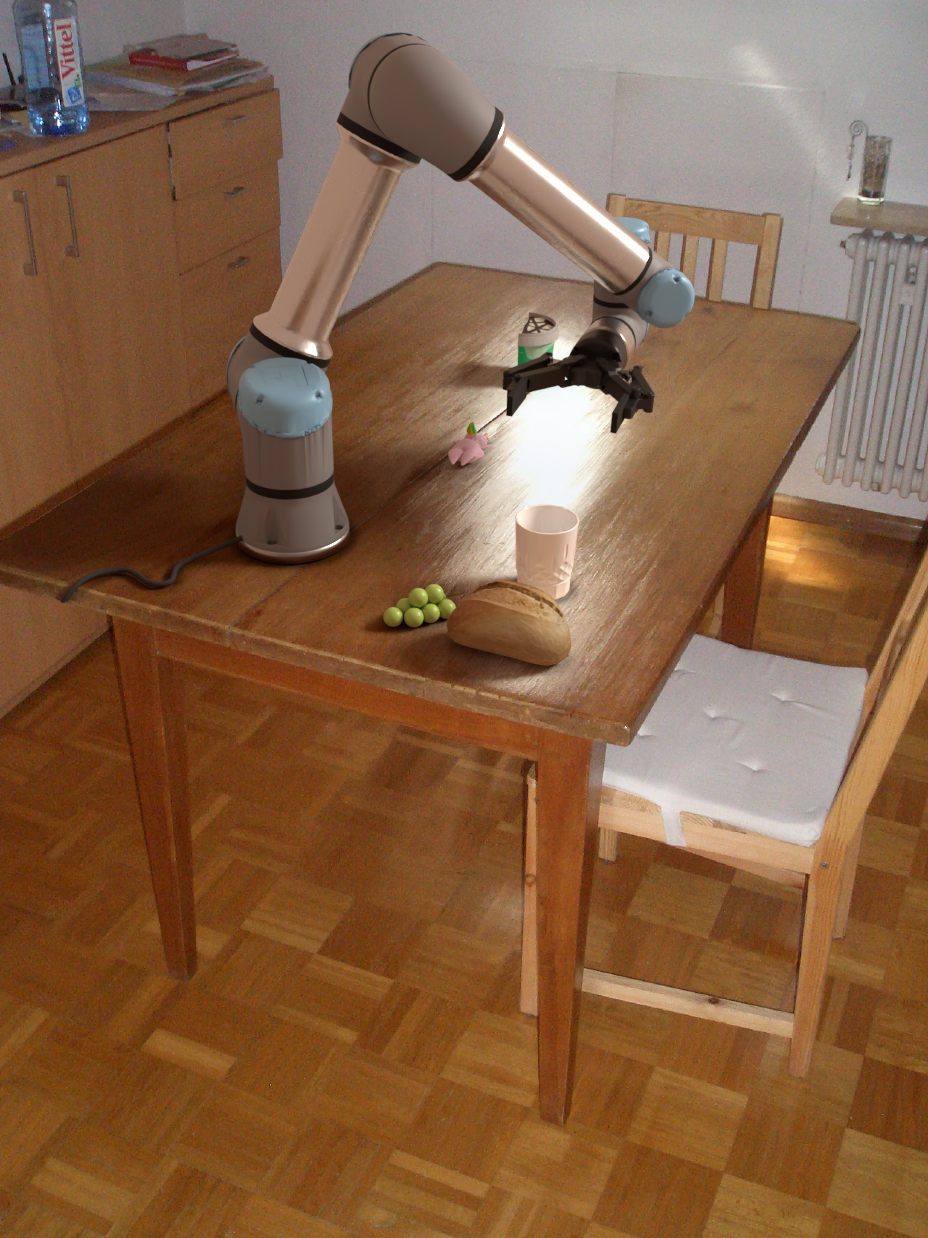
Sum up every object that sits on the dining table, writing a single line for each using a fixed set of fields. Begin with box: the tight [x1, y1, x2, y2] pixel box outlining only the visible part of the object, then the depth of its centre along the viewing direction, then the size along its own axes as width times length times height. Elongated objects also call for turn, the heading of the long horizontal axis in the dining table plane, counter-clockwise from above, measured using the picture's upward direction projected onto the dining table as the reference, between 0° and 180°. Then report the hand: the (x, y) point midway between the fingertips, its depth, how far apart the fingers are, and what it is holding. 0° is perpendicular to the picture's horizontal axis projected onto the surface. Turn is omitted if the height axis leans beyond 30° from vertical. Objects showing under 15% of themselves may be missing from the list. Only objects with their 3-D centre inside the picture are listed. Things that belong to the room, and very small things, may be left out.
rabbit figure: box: [447, 421, 493, 466], centre depth 192 cm, size 6×6×15 cm
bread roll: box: [446, 580, 572, 667], centre depth 148 cm, size 10×15×8 cm, turn 73°
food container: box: [517, 311, 560, 365], centre depth 220 cm, size 12×6×10 cm, turn 168°
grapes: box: [382, 583, 466, 628], centre depth 155 cm, size 11×5×4 cm, turn 118°
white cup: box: [514, 504, 580, 601], centre depth 159 cm, size 8×8×10 cm
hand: (561, 414), depth 159 cm, fingers open, 13 cm apart
